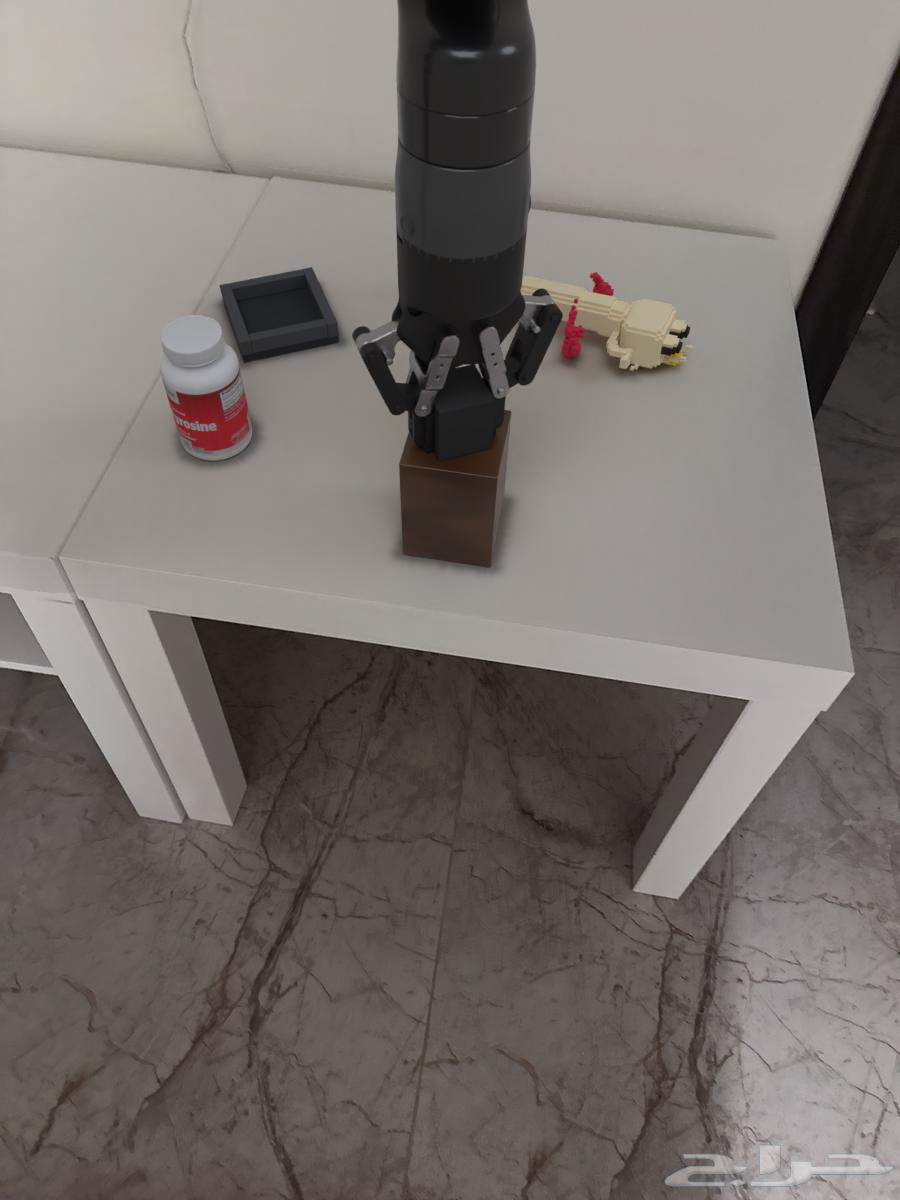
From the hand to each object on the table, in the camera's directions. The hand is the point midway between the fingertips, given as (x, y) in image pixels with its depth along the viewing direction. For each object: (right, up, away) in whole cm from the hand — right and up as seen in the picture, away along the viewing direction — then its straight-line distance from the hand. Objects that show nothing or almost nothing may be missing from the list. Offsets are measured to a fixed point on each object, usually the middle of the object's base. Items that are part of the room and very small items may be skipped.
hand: (455, 435), depth 66 cm
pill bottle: (-20, +2, +14) cm, 25 cm away
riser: (0, -6, +8) cm, 10 cm away
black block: (0, 0, 0) cm, 0 cm away
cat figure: (+10, +14, +23) cm, 29 cm away
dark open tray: (-17, +15, +23) cm, 32 cm away
